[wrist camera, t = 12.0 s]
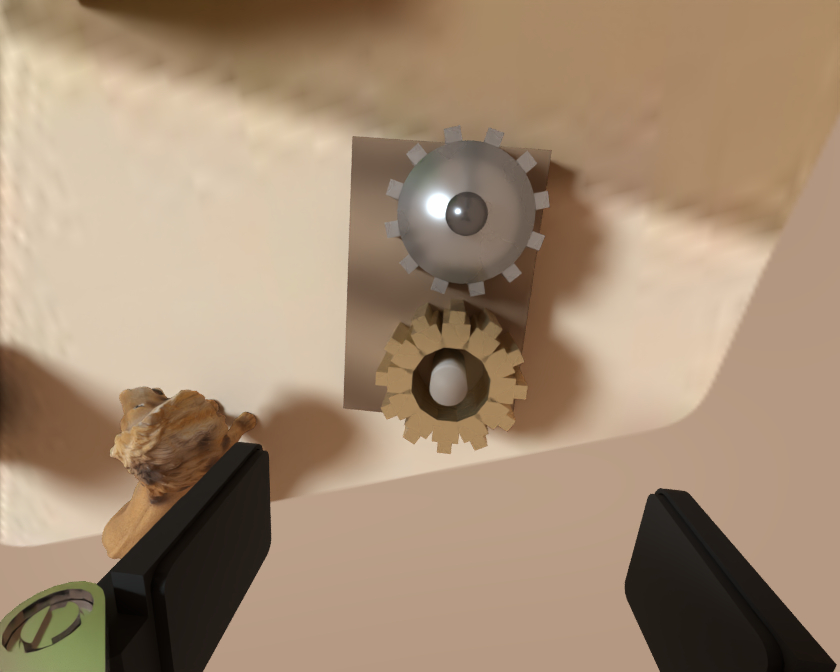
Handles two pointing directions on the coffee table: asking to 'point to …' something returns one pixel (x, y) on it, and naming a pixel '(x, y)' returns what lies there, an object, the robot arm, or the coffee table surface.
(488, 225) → the grey gear
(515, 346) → the brass gear
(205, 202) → the coffee table surface
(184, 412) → the lion figurine
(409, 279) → the gear board
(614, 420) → the coffee table surface
